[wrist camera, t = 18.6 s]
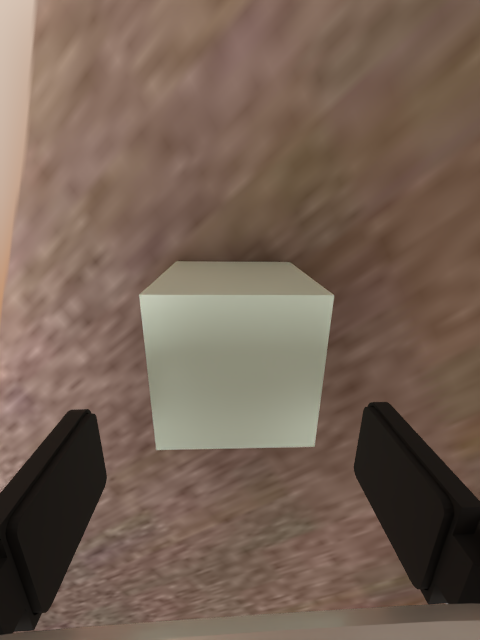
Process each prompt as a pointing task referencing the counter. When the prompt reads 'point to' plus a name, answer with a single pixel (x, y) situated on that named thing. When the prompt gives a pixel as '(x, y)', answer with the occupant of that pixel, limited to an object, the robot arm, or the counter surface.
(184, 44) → the counter surface
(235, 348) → the pale sage cube
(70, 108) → the counter surface
